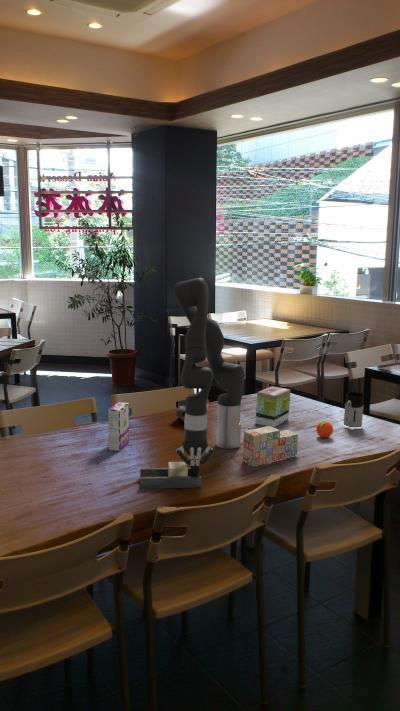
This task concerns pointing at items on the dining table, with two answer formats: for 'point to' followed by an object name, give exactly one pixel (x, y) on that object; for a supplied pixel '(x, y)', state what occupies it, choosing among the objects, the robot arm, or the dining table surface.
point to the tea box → (272, 406)
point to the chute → (166, 479)
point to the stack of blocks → (268, 445)
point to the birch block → (177, 469)
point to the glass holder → (353, 409)
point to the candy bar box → (118, 426)
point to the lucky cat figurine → (181, 410)
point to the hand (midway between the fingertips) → (194, 475)
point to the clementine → (324, 429)
